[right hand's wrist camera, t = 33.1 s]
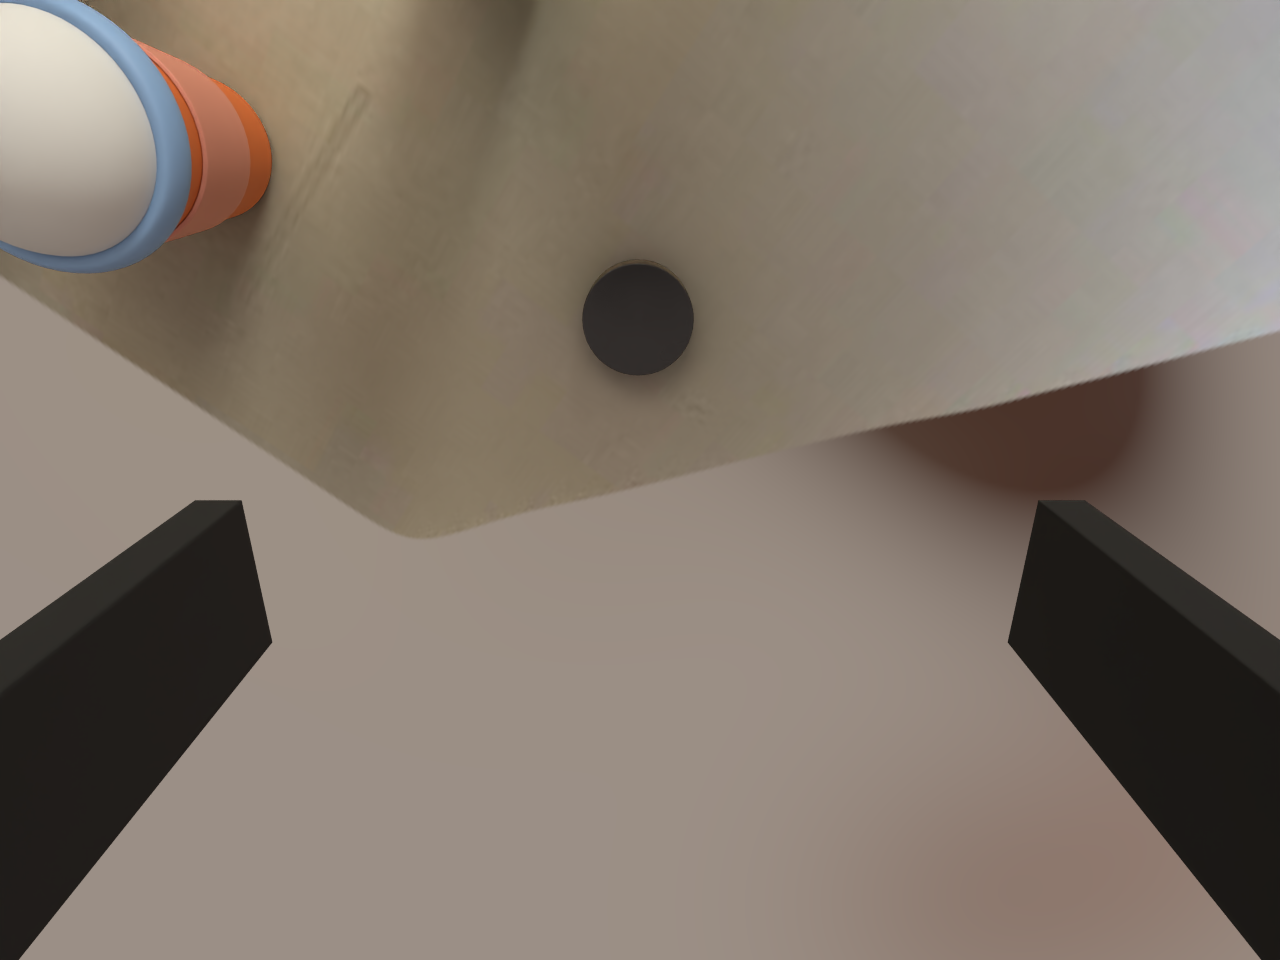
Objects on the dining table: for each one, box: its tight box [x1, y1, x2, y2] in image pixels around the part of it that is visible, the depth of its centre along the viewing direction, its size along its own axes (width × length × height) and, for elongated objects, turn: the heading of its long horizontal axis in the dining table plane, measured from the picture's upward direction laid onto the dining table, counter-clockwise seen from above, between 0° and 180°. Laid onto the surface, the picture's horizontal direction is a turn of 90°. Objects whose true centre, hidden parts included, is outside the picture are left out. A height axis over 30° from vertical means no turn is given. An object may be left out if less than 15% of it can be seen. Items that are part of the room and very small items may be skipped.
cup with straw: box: [0, 0, 272, 273], centre depth 27 cm, size 9×9×18 cm
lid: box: [582, 260, 694, 375], centre depth 37 cm, size 5×5×2 cm
